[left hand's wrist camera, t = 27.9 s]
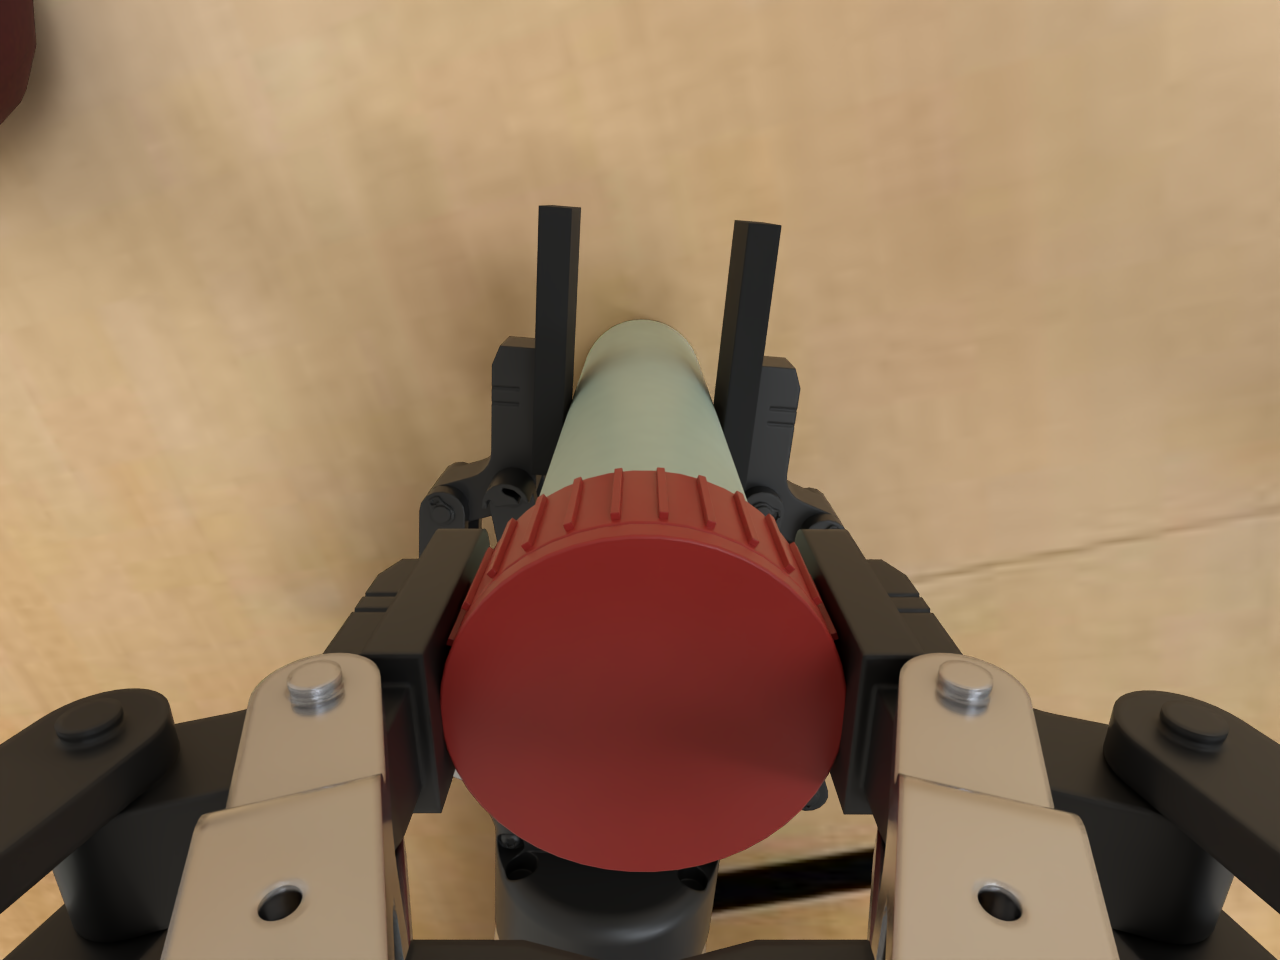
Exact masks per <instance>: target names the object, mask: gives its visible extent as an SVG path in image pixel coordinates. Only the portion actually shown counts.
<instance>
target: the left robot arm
mask: <svg viewBox="0 0 1280 960" xmlns="http://www.w3.org/2000/svg"><path fill="white" fill-rule="evenodd" d="M795 544H796V546H797V547H798V549H799V552H800V554H801V556H802V558H803V560H804V563H805V565H806V567H807V569H808V572H809V574H810V575H811V577H812V579H813V581H814V583H815V585H816V588H817V590H818V592H819V594H820V596H821V599H822V601H823V603H824V605H825V608H826V610H827V612H828V614H829V616H830V619H831V621H832V623H833V625H834V627H835V630H836V632H837V635H838V639H837V640H834V643H835V646H836V649H837V651H838V654H839V657H840V660H841V662H842V665H843V671H844V676H845V681H846V697H845V708H844V716H843V725H842V733H841V741H840V748H839V752H838V755H837V757H836V759H835V761H834V763H833V765H832V768H831V770H830V774H831V777H832V780H833V783H834V786H835V789H836V792H837V795H838V798H839V801H840V804H841V807H842V810H843V813H844V814H873V816H874V819H875V821H876V824H877V827H878V828H877V835H876V842H875V849H874V856H873V869H872V882H871V896H870V909H869V922H868V935H867V940H754V941H750V942H746V943H742V944H738V945H734V946H731V947H727V948H723V949H719V950H715V951H711V952H707V953H704V954H700V955H696V956H692V957H688V958H684V959H680V960H1277V959H1276V958H1275V957H1274V956H1273V955H1272V954H1270V953H1269V952H1268V951H1267V950H1266V949H1265V948H1264V947H1263V946H1262V945H1261V944H1259V943H1258V942H1257V941H1256V940H1255V939H1254V938H1253V937H1252V936H1251V935H1249V934H1248V933H1247V932H1246V931H1245V930H1244V929H1243V928H1242V927H1241V926H1240V925H1238V924H1237V923H1236V922H1235V921H1234V920H1233V919H1232V918H1231V917H1230V916H1228V915H1227V914H1226V913H1225V912H1224V911H1223V910H1222V907H1223V904H1224V902H1225V899H1226V896H1227V894H1228V891H1229V888H1230V886H1231V883H1232V880H1233V878H1234V876H1236V877H1237V878H1238V879H1239V880H1240V881H1241V882H1243V883H1244V884H1245V885H1246V886H1247V887H1248V888H1250V889H1251V890H1252V891H1253V892H1254V893H1256V894H1257V895H1258V896H1259V897H1260V898H1261V899H1263V900H1264V901H1265V902H1266V903H1267V904H1269V905H1270V906H1271V907H1272V908H1273V909H1274V910H1276V911H1277V912H1278V913H1279V914H1280V744H1278V743H1276V742H1275V741H1273V740H1272V739H1270V738H1269V737H1267V736H1266V735H1264V734H1262V733H1261V732H1259V731H1258V730H1256V729H1255V728H1253V727H1252V726H1250V725H1249V724H1247V723H1245V722H1244V721H1242V720H1241V719H1239V718H1237V717H1236V716H1234V715H1232V714H1230V713H1228V712H1226V711H1224V710H1222V709H1220V708H1218V707H1216V706H1213V705H1211V704H1209V703H1206V702H1203V701H1200V700H1197V699H1194V698H1191V697H1187V696H1184V695H1180V694H1175V693H1170V692H1163V691H1135V692H1131V693H1127V694H1125V695H1123V696H1121V697H1120V698H1119V699H1118V700H1117V701H1116V702H1115V705H1114V707H1113V711H1112V715H1111V718H1110V722H1109V725H1107V724H1102V723H1097V722H1092V721H1087V720H1082V719H1077V718H1072V717H1067V716H1062V715H1057V714H1052V713H1048V712H1044V711H1040V710H1037V709H1034V708H1033V707H1032V702H1031V699H1030V696H1029V693H1028V692H1027V690H1026V689H1025V687H1024V686H1023V685H1022V684H1021V683H1020V682H1019V681H1018V680H1017V679H1015V678H1014V677H1013V676H1012V675H1010V674H1009V673H1007V672H1006V671H1004V670H1003V669H1001V668H999V667H997V666H995V665H993V664H990V663H988V662H985V661H983V660H980V659H976V658H973V657H969V656H965V655H963V654H962V653H961V652H960V650H959V649H958V647H957V646H956V645H955V643H954V642H953V640H952V639H951V638H950V636H949V635H948V633H947V632H946V631H945V629H944V628H943V626H942V625H941V624H940V622H939V621H938V619H937V618H936V617H935V615H934V614H933V613H930V608H929V607H928V605H927V604H926V602H925V601H924V600H923V598H922V597H919V593H918V591H917V590H916V588H915V587H914V586H913V584H912V583H911V581H910V580H909V579H908V577H907V576H906V575H905V574H903V573H902V572H900V571H899V570H897V569H896V568H894V567H892V566H891V565H889V564H888V563H886V562H885V561H883V560H866V559H865V557H864V556H863V554H862V552H861V551H860V549H859V548H858V546H857V544H856V543H855V541H854V540H853V538H852V537H851V535H850V533H849V532H848V531H847V530H846V529H799V530H798V531H797V534H796V537H795ZM488 547H490V543H489V537H488V533H487V531H486V529H437V530H436V532H435V533H434V535H433V536H432V538H431V540H430V541H429V543H428V544H427V546H426V548H425V549H424V551H423V553H422V554H421V556H420V557H419V559H402V560H400V561H399V562H397V563H396V564H394V565H393V566H391V567H389V568H388V569H386V570H385V571H383V572H382V573H380V574H379V575H378V576H377V577H376V579H375V580H374V581H373V583H372V584H371V586H370V587H369V589H368V590H367V591H366V593H365V594H366V595H365V597H362V599H361V600H360V601H359V603H358V604H357V606H356V607H355V612H352V613H351V614H350V616H349V617H348V619H347V620H346V621H345V623H344V624H343V626H342V627H341V629H340V630H339V631H338V633H337V634H336V636H335V637H334V639H333V640H332V641H331V643H330V644H329V646H328V647H327V648H326V650H325V651H324V653H323V654H320V655H315V656H311V657H307V658H304V659H300V660H297V661H295V662H292V663H290V664H287V665H285V666H283V667H281V668H279V669H277V670H276V671H274V672H273V673H271V674H270V675H268V676H267V677H266V678H265V679H263V680H262V681H261V682H260V683H259V684H258V685H257V686H256V687H255V689H254V690H253V692H252V693H251V696H250V699H249V702H248V707H247V709H245V710H242V711H237V712H233V713H229V714H224V715H218V716H213V717H208V718H203V719H198V720H193V721H188V722H183V723H178V724H174V720H173V716H172V713H171V709H170V705H169V703H168V700H167V699H166V698H165V697H164V696H163V695H162V694H160V693H158V692H156V691H152V690H148V689H120V690H113V691H108V692H103V693H99V694H95V695H92V696H89V697H86V698H83V699H80V700H77V701H74V702H72V703H70V704H67V705H65V706H63V707H61V708H59V709H57V710H55V711H53V712H51V713H49V714H48V715H46V716H44V717H42V718H41V719H39V720H38V721H36V722H35V723H33V724H31V725H30V726H28V727H27V728H25V729H24V730H22V731H21V732H19V733H18V734H16V735H14V736H13V737H11V738H10V739H8V740H7V741H5V742H4V743H2V744H1V745H0V914H1V913H2V912H3V911H4V910H6V909H7V908H8V907H9V906H10V905H12V904H13V903H14V902H15V901H16V900H17V899H19V898H20V897H21V896H22V895H23V894H24V893H26V892H27V891H28V890H29V889H30V888H32V887H33V886H34V885H35V884H36V883H37V882H39V881H40V880H41V879H42V878H43V877H45V876H46V875H47V874H48V873H49V872H50V871H52V870H53V873H54V876H55V879H56V881H57V884H58V887H59V890H60V892H61V895H62V898H63V900H64V903H65V904H64V905H63V906H62V907H60V908H59V909H58V910H57V911H56V912H55V913H54V914H53V915H52V916H50V917H49V918H48V919H47V920H46V921H45V922H44V923H43V924H42V925H41V926H39V927H38V928H37V929H36V930H35V931H34V932H33V933H32V934H31V935H29V936H28V937H27V938H26V939H25V940H24V941H23V942H22V943H21V944H20V945H18V946H17V947H16V948H15V949H14V950H13V951H12V952H11V953H10V954H8V955H7V956H6V957H5V958H4V959H3V960H600V959H596V958H592V957H588V956H584V955H580V954H576V953H573V952H569V951H565V950H561V949H557V948H553V947H549V946H546V945H542V944H538V943H534V942H530V941H526V940H413V935H412V922H411V909H410V895H409V882H408V869H407V856H406V849H405V842H404V835H405V832H406V830H407V827H408V824H409V822H410V819H411V816H412V814H413V813H441V812H442V809H443V806H444V803H445V800H446V797H447V794H448V791H449V788H450V785H451V782H452V778H453V775H454V772H455V766H454V764H453V762H452V759H451V757H450V755H449V752H448V750H447V746H446V742H445V739H444V732H443V724H442V715H441V706H440V686H441V680H442V675H443V670H444V666H445V661H446V659H447V656H448V654H449V651H450V649H451V646H448V645H447V640H448V637H449V635H450V633H451V630H452V628H453V626H454V624H455V621H456V619H457V617H458V615H459V612H460V610H461V607H462V605H463V602H464V600H465V598H466V595H467V593H468V591H469V589H470V586H471V584H472V582H473V579H474V577H475V575H476V573H477V570H478V568H479V566H480V564H481V561H482V559H483V557H484V554H485V552H486V550H487V549H488Z"/></svg>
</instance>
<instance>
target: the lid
mask: <svg viewBox="0 0 1280 960" xmlns="http://www.w3.org/2000/svg"><path fill="white" fill-rule="evenodd" d="M837 639H838V635H837V632H836V630H835V627H834V625H833V623H832V621H831V619H830V616H829V614H828V612H827V610H826V608H825V605H824V603H823V601H822V599H821V596H820V594H819V592H818V590H817V588H816V585H815V583H814V581H813V579H812V577H811V575H810V574H809V572H808V569H807V567H806V565H805V563H804V560H803V558H802V556H801V554H800V552H799V549H798V547H797V546H796V544H795V542H793V543H791V544H789V543H788V542H787V541H786V539H785V538H784V537H783V535H782V534H781V533H780V531H779V529H778V526H777V524H776V521H775V519H774V517H773V516H772V515H771V514H768V515H767V516H764V515H763V514H762V513H761V512H760V511H759V510H757V509H756V508H755V507H753V506H752V505H751V504H749V503H748V502H747V501H745V498H744V495H743V494H742V493H741V492H739V491H736V492H735V493H734V494H733V493H732V492H730V491H728V490H726V489H725V488H722V487H720V486H717V485H715V484H712V483H710V482H707V480H706V477H705V476H701V475H698V477H697V478H694V477H691V476H687V475H683V474H678V473H670V472H665V468H660V467H657V470H656V471H638V470H633V471H624V472H623V469H622V468H617V469H614V473H608V474H604V475H600V476H596V477H591V478H587V479H584V480H582V477H578V478H576V479H574V481H573V484H571V485H569V486H566V487H564V488H562V489H560V490H558V491H556V492H554V493H553V494H551V495H549V496H547V497H546V496H545V495H544V494H542V495H541V496H539V497H538V498H537V501H536V504H535V505H534V506H533V507H531V508H530V509H528V510H527V511H526V512H525V513H524V514H523V515H522V516H521V517H520V518H519V519H518V520H515V519H514V518H511V519H510V520H509V521H508V523H507V525H506V528H505V530H504V532H503V535H502V537H501V539H500V540H499V542H498V543H497V545H496V547H495V548H494V549H492V548H490V547H488V549H487V550H486V552H485V554H484V557H483V559H482V561H481V564H480V566H479V568H478V570H477V573H476V575H475V577H474V579H473V582H472V584H471V586H470V589H469V591H468V593H467V595H466V598H465V600H464V602H463V605H462V607H461V610H460V612H459V615H458V617H457V619H456V621H455V624H454V626H453V628H452V630H451V633H450V635H449V637H448V640H447V645H448V646H451V649H450V651H449V654H448V656H447V659H446V661H445V666H444V670H443V675H442V680H441V686H440V706H441V715H442V724H443V732H444V739H445V742H446V746H447V750H448V752H449V755H450V757H451V759H452V762H453V764H454V766H455V769H456V771H457V773H458V774H459V776H460V777H461V779H462V781H463V782H464V784H465V786H466V787H467V789H468V790H469V791H470V793H471V794H472V795H473V796H474V797H475V799H476V800H477V801H478V802H479V804H480V805H481V806H482V807H483V808H484V809H485V810H486V811H487V812H488V813H489V814H490V815H491V816H492V817H493V818H495V819H496V820H497V821H498V822H499V823H500V824H502V825H503V826H504V827H506V828H507V829H508V830H510V831H511V832H512V833H514V834H515V835H516V836H518V837H520V838H521V839H523V840H525V841H527V842H528V843H530V844H532V845H534V846H535V847H537V848H539V849H542V850H544V851H546V852H549V853H551V854H553V855H555V856H558V857H560V858H564V859H567V860H570V861H573V862H576V863H579V864H583V865H588V866H592V867H597V868H602V869H608V870H618V871H627V872H658V871H669V870H679V869H684V868H689V867H694V866H700V865H703V864H707V863H710V862H714V861H717V860H720V859H724V858H726V857H728V856H731V855H733V854H736V853H738V852H740V851H743V850H745V849H747V848H749V847H751V846H753V845H755V844H756V843H758V842H760V841H762V840H764V839H765V838H767V837H768V836H770V835H771V834H773V833H774V832H775V831H777V830H778V829H780V828H781V827H783V826H784V825H785V824H786V823H788V822H789V821H790V820H791V819H792V818H793V817H794V816H795V815H796V814H797V813H799V812H800V811H801V810H802V809H803V808H804V807H805V805H806V804H807V803H808V802H809V801H810V800H811V798H812V797H813V796H814V795H815V794H816V793H817V791H818V789H819V788H820V786H821V785H822V783H823V782H824V780H825V779H826V777H827V776H828V774H829V772H830V770H831V768H832V765H833V763H834V761H835V759H836V757H837V755H838V752H839V748H840V741H841V733H842V725H843V716H844V708H845V697H846V681H845V676H844V671H843V665H842V662H841V660H840V657H839V654H838V651H837V649H836V646H835V643H834V640H837Z"/></svg>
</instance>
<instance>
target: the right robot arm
mask: <svg viewBox="0 0 1280 960" xmlns="http://www.w3.org/2000/svg"><path fill="white" fill-rule="evenodd" d="M580 218H581V208H580V207H568V206H555V205H544V206H539V219H538V256H537V292H536V329H535V338H525V337H512V336H509V337H508V338H507V339H506V340H505V341H504V342H503V343H502V344H501V345H500V347H499V350H498V352H497V354H496V357H495V359H494V361H493V364H492V434H491V456H490V457H488V458H486V459H483V460H480V461H477V462H473V463H469V464H468V463H465V462H457V463H454V464H452V465H450V466H448V467H447V469H446V470H445V471H444V472H443V474H442V475H441V476H440V478H439V479H438V480H437V482H436V483H435V484H434V486H433V487H432V488H431V490H430V491H429V493H428V494H427V496H426V497H425V498H424V500H423V501H422V503H421V506H420V511H419V557H420V556H421V554H422V553H423V551H424V549H425V548H426V546H427V544H428V543H429V541H430V540H431V538H432V536H433V535H434V533H435V532H436V530H437V529H481V523H482V518H485V517H488V516H492V519H493V524H494V528H495V533H496V538H497V542H499V540H500V539H501V537H502V535H503V532H504V530H505V528H506V525H507V523H508V521H509V520H510V519H511V518H514V519H515V520H518V519H519V518H520V517H521V516H522V515H523V514H524V513H525V512H526V511H527V510H528V509H530V508H531V507H533V506H534V505H535V504H536V501H537V498H538V497H539V496H540V493H541V490H542V487H543V484H544V481H545V478H546V475H547V472H548V469H549V467H550V464H551V461H552V458H553V455H554V452H555V449H556V446H557V443H558V440H559V437H560V434H561V431H562V428H563V426H564V423H565V420H566V417H567V414H568V411H569V408H570V405H571V402H572V392H573V370H574V348H575V327H576V305H577V283H578V261H579V239H580ZM780 233H781V225H776V224H770V223H763V222H752V221H739V220H735V223H734V231H733V240H732V249H731V257H730V266H729V275H728V284H727V292H726V301H725V310H724V318H723V327H722V336H721V344H720V353H719V362H718V370H717V379H716V388H715V396H714V408H715V411H716V414H717V417H718V419H719V422H720V425H721V428H722V431H723V434H724V436H725V439H726V442H727V445H728V448H729V451H730V453H731V456H732V459H733V462H734V465H735V468H736V470H737V473H738V476H739V479H740V482H741V485H742V488H743V490H744V493H745V496H746V499H747V502H748V503H749V504H751V505H752V506H753V507H755V508H756V509H757V510H759V511H760V512H761V513H762V514H763V515H764V516H767V515H768V514H771V515H772V516H773V517H774V519H775V521H776V524H777V526H778V529H779V531H780V533H781V534H782V535H783V537H784V538H785V539H786V541H787V542H788V543H789V544H791V543H793V542H795V537H796V534H797V531H798V530H799V529H845V528H844V527H843V525H842V523H841V521H840V520H839V518H838V517H837V515H836V513H835V512H834V510H833V509H832V507H831V505H830V504H829V502H828V501H827V499H826V498H825V496H824V495H823V493H821V492H820V491H819V490H817V489H813V488H802V487H800V486H798V485H796V484H793V483H791V482H790V481H788V480H787V471H788V464H789V458H790V451H791V445H792V439H793V432H794V424H795V419H796V413H797V412H796V410H797V407H798V400H799V394H800V385H799V381H798V377H797V373H796V369H795V368H794V367H793V365H792V364H791V363H790V362H789V361H788V360H787V359H786V358H782V357H769V356H764V350H765V343H766V335H767V328H768V321H769V313H770V306H771V299H772V291H773V284H774V277H775V269H776V262H777V255H778V247H779V240H780ZM453 777H455V778H458V779H461V777H460V776H459V774H458V773H457V771H456V769H455V772H454V775H453ZM461 780H462V779H461ZM827 798H828V790H827V787H826V783H825V780H824V782H823V783H822V785H821V786H820V788H819V789H818V791H817V793H816V794H815V795H814V796H813V797H812V798H811V800H810V801H809V802H808V803H807V804H806V805H805V807H804V808H803V809H802V810H804V811H809V810H815V809H817V808H820V807H821V806H822V805H823V804H824V803H825V802H826V800H827ZM490 816H491V815H490ZM491 818H492V820H493V822H494V825H495V830H496V860H495V922H496V928H495V932H494V940H526V941H530V942H534V943H538V944H542V945H546V946H549V947H553V948H557V949H561V950H565V951H569V952H573V953H576V954H580V955H584V956H588V957H592V958H596V959H600V960H680V959H684V958H688V957H692V956H696V955H700V954H704V953H706V941H707V937H708V933H709V927H710V921H711V914H712V907H713V901H714V894H715V887H716V881H717V874H718V868H719V861H720V860H717V861H714V862H710V863H707V864H703V865H700V866H694V867H689V868H684V869H679V870H669V871H658V872H627V871H618V870H608V869H602V868H597V867H592V866H588V865H583V864H579V863H576V862H573V861H570V860H567V859H564V858H560V857H558V856H555V855H553V854H551V853H549V852H546V851H544V850H542V849H539V848H537V847H535V846H534V845H532V844H530V843H528V842H527V841H525V840H523V839H521V838H520V837H518V836H516V835H515V834H514V833H512V832H511V831H510V830H508V829H507V828H506V827H504V826H503V825H502V824H500V823H499V822H498V821H497V820H496V819H495V818H493V817H492V816H491Z"/></svg>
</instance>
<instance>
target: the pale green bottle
mask: <svg viewBox="0 0 1280 960" xmlns="http://www.w3.org/2000/svg"><path fill="white" fill-rule="evenodd" d="M657 467H660V468H665V472H670V473H678V474H683V475H687V476H691V477H694V478H697V477H698V475H701V476H705V477H706V480H707V482H710V483H712V484H715V485H717V486H720V487H722V488H725V489H726V490H728V491H730V492H732V493H733V494H734V493H735V492H736V491H739V492H741V493H742V494H743V495H744V498H745V501H747V499H746V496H745V493H744V490H743V488H742V485H741V482H740V479H739V476H738V473H737V470H736V468H735V465H734V462H733V459H732V456H731V453H730V451H729V448H728V445H727V442H726V439H725V436H724V434H723V431H722V428H721V425H720V422H719V419H718V417H717V414H716V411H715V408H714V405H713V402H712V400H711V397H710V394H709V391H708V388H707V385H706V383H705V380H704V377H703V374H702V371H701V368H700V366H699V363H698V360H697V357H696V355H695V353H694V350H693V349H692V347H691V346H690V344H689V343H688V341H687V340H686V339H685V338H684V337H683V336H682V335H681V334H680V333H679V332H677V331H676V330H675V329H673V328H672V327H670V326H668V325H666V324H663V323H660V322H657V321H652V320H643V319H640V320H631V321H626V322H623V323H620V324H618V325H616V326H614V327H612V328H610V329H609V330H607V331H606V332H605V333H604V334H602V335H601V336H600V337H599V338H598V339H597V341H596V342H595V343H594V345H593V346H592V348H591V349H590V351H589V353H588V356H587V358H586V361H585V364H584V367H583V370H582V373H581V376H580V379H579V382H578V385H577V387H576V390H575V393H574V396H573V399H572V402H571V405H570V408H569V411H568V414H567V417H566V420H565V423H564V426H563V428H562V431H561V434H560V437H559V440H558V443H557V446H556V449H555V452H554V455H553V458H552V461H551V464H550V467H549V469H548V472H547V475H546V478H545V481H544V484H543V487H542V490H541V493H540V496H541V495H542V494H544V495H545V496H546V497H547V496H549V495H551V494H553V493H554V492H556V491H558V490H560V489H562V488H564V487H566V486H569V485H571V484H573V481H574V479H576V478H578V477H582V480H584V479H587V478H591V477H596V476H600V475H604V474H608V473H614V469H617V468H622V469H623V472H624V471H633V470H638V471H656V470H657Z"/></svg>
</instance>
